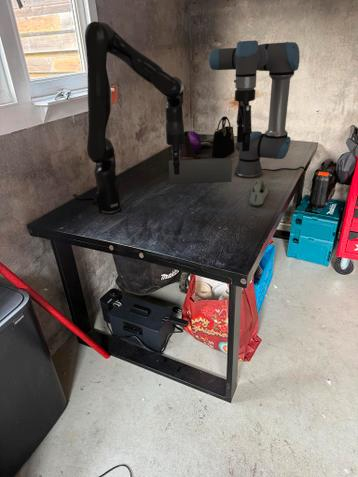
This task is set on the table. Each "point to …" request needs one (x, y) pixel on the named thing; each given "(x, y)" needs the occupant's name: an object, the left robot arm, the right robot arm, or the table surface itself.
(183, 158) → the boot
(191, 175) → the bar
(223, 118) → the handbag
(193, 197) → the table surface
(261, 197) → the ballet flat
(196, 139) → the decorative orb
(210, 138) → the pair of gloves
